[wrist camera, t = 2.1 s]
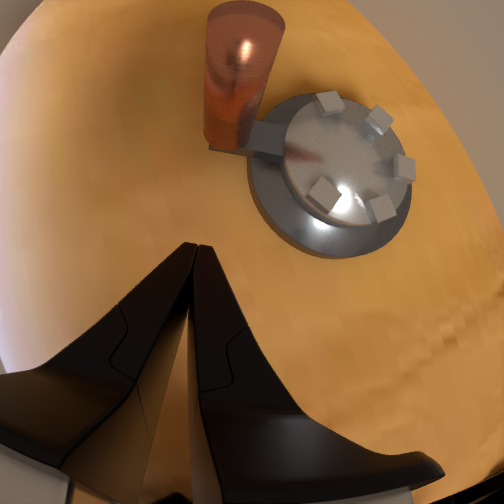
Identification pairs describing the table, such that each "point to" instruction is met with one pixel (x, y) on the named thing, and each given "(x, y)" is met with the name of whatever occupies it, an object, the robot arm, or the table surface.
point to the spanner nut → (299, 126)
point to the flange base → (300, 222)
